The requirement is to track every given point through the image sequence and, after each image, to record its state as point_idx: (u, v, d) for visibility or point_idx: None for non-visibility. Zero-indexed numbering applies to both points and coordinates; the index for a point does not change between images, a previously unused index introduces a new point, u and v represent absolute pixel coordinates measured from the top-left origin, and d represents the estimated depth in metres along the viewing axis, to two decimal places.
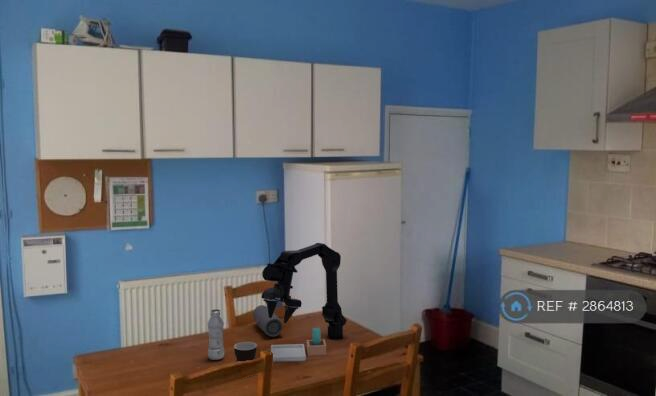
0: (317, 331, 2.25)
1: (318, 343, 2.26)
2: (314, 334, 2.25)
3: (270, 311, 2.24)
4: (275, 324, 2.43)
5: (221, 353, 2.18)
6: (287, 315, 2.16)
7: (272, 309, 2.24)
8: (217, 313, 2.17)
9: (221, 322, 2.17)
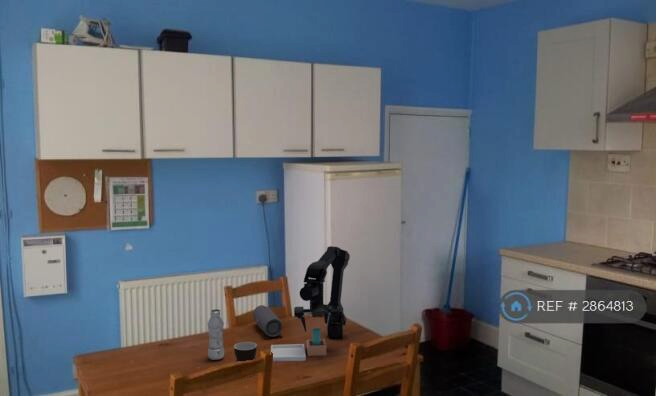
0: (317, 331, 2.25)
1: (318, 343, 2.26)
2: (314, 334, 2.25)
3: None
4: (275, 324, 2.43)
5: (221, 353, 2.18)
6: (330, 323, 2.27)
7: None
8: (217, 313, 2.17)
9: (221, 322, 2.17)
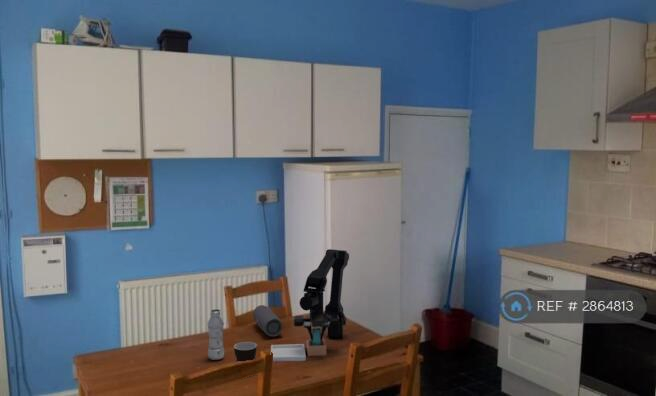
0: (317, 331, 2.25)
1: (318, 343, 2.26)
2: (314, 334, 2.25)
3: (311, 334, 2.26)
4: (275, 324, 2.43)
5: (221, 353, 2.18)
6: (323, 333, 2.27)
7: None
8: (217, 313, 2.17)
9: (221, 322, 2.17)
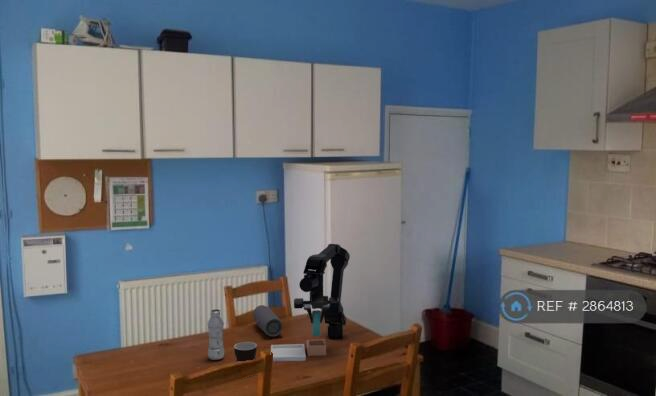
0: (317, 313, 2.24)
1: (318, 325, 2.25)
2: (314, 316, 2.25)
3: (311, 317, 2.26)
4: (275, 324, 2.43)
5: (221, 353, 2.18)
6: (323, 315, 2.26)
7: None
8: (217, 313, 2.17)
9: (221, 322, 2.17)
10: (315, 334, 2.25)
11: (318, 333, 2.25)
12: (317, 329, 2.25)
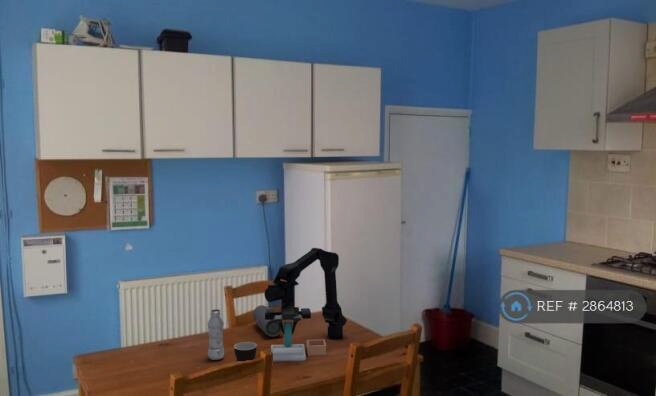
0: (288, 324, 2.22)
1: (289, 336, 2.22)
2: (285, 328, 2.22)
3: (283, 328, 2.23)
4: (275, 324, 2.43)
5: (221, 353, 2.18)
6: (295, 326, 2.23)
7: None
8: (217, 313, 2.17)
9: (221, 322, 2.17)
10: (286, 345, 2.22)
11: (290, 344, 2.23)
12: (289, 341, 2.22)
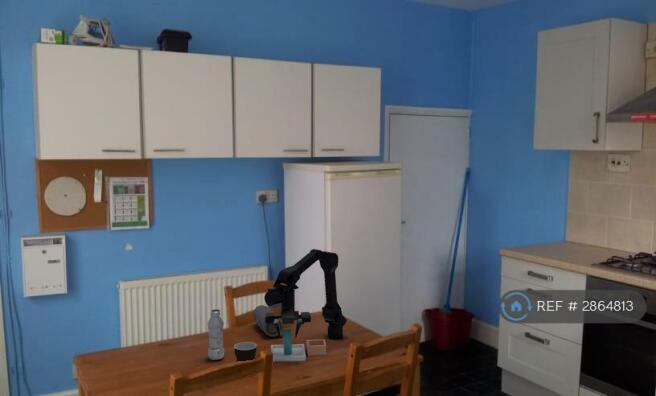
0: (287, 332, 2.22)
1: (289, 343, 2.22)
2: (284, 335, 2.22)
3: (279, 331, 2.23)
4: None
5: (221, 353, 2.18)
6: None
7: None
8: (217, 313, 2.17)
9: (221, 322, 2.17)
10: (286, 353, 2.23)
11: (289, 351, 2.23)
12: (289, 348, 2.23)
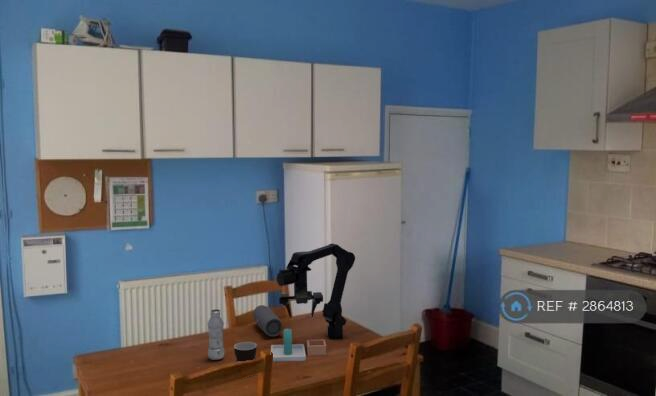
0: (288, 332, 2.22)
1: (289, 344, 2.22)
2: (285, 335, 2.22)
3: None
4: (275, 324, 2.43)
5: (221, 353, 2.18)
6: (314, 309, 2.34)
7: None
8: (217, 313, 2.17)
9: (221, 322, 2.17)
10: (286, 353, 2.23)
11: (289, 352, 2.23)
12: (289, 348, 2.22)
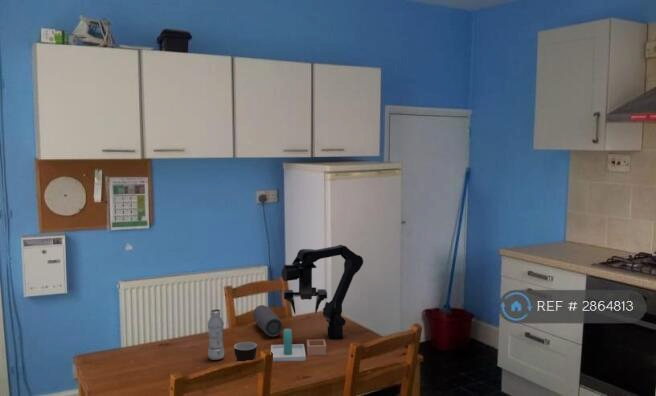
0: (288, 332, 2.22)
1: (289, 344, 2.22)
2: (285, 335, 2.22)
3: (294, 307, 2.37)
4: (275, 324, 2.43)
5: (221, 353, 2.18)
6: (318, 306, 2.38)
7: (294, 305, 2.38)
8: (217, 313, 2.17)
9: (221, 322, 2.17)
10: (286, 353, 2.23)
11: (289, 352, 2.23)
12: (289, 348, 2.22)
